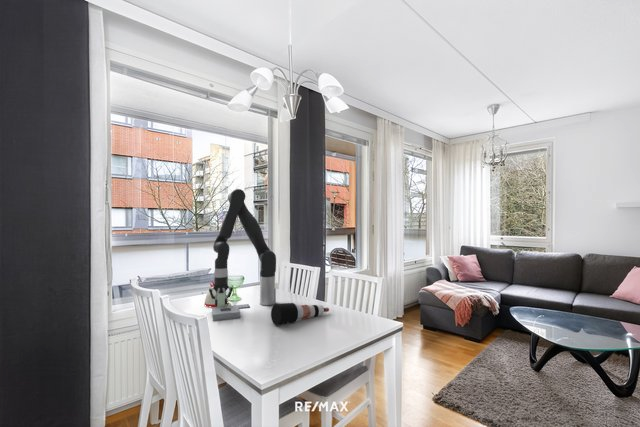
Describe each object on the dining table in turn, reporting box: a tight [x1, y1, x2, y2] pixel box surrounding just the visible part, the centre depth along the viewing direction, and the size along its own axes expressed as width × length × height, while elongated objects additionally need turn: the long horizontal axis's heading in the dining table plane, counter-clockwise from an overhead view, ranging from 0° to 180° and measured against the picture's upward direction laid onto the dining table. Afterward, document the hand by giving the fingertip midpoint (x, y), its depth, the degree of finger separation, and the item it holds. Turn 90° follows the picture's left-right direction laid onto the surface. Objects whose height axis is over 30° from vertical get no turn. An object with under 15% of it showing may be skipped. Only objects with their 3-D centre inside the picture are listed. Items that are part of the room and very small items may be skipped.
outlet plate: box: [211, 304, 241, 321], centre depth 173 cm, size 14×14×3 cm
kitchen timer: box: [204, 281, 229, 308], centre depth 195 cm, size 14×14×15 cm
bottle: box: [270, 302, 330, 326], centre depth 166 cm, size 10×34×10 cm, turn 127°
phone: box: [237, 303, 251, 310], centre depth 188 cm, size 7×13×1 cm, turn 112°
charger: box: [217, 293, 226, 307], centre depth 182 cm, size 4×4×10 cm
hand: (220, 305), depth 182 cm, fingers closed on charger, 4 cm apart
